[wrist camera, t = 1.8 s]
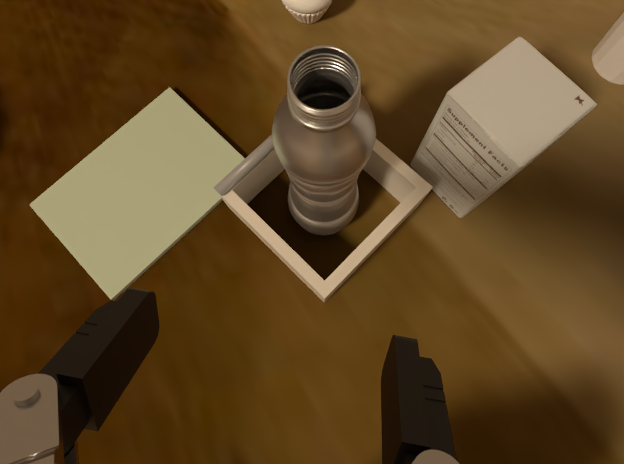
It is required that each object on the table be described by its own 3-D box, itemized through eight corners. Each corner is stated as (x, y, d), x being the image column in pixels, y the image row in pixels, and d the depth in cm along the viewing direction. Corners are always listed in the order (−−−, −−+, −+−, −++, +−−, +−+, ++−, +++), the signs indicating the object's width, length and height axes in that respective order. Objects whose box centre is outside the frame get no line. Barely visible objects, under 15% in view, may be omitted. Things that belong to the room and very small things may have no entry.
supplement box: (461, 122, 40) (523, 30, 28) (514, 176, 38) (604, 104, 26) (406, 165, 39) (444, 89, 27) (458, 221, 37) (524, 169, 25)
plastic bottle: (288, 239, 37) (250, 141, 18) (292, 172, 39) (261, 17, 20) (356, 242, 37) (392, 145, 18) (357, 175, 39) (392, 19, 19)
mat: (171, 90, 42) (169, 87, 41) (255, 170, 39) (254, 167, 39) (33, 206, 39) (29, 204, 38) (114, 300, 36) (110, 299, 36)
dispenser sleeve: (322, 120, 40) (322, 85, 34) (418, 205, 38) (436, 182, 32) (228, 207, 38) (212, 185, 32) (324, 302, 36) (324, 297, 30)
